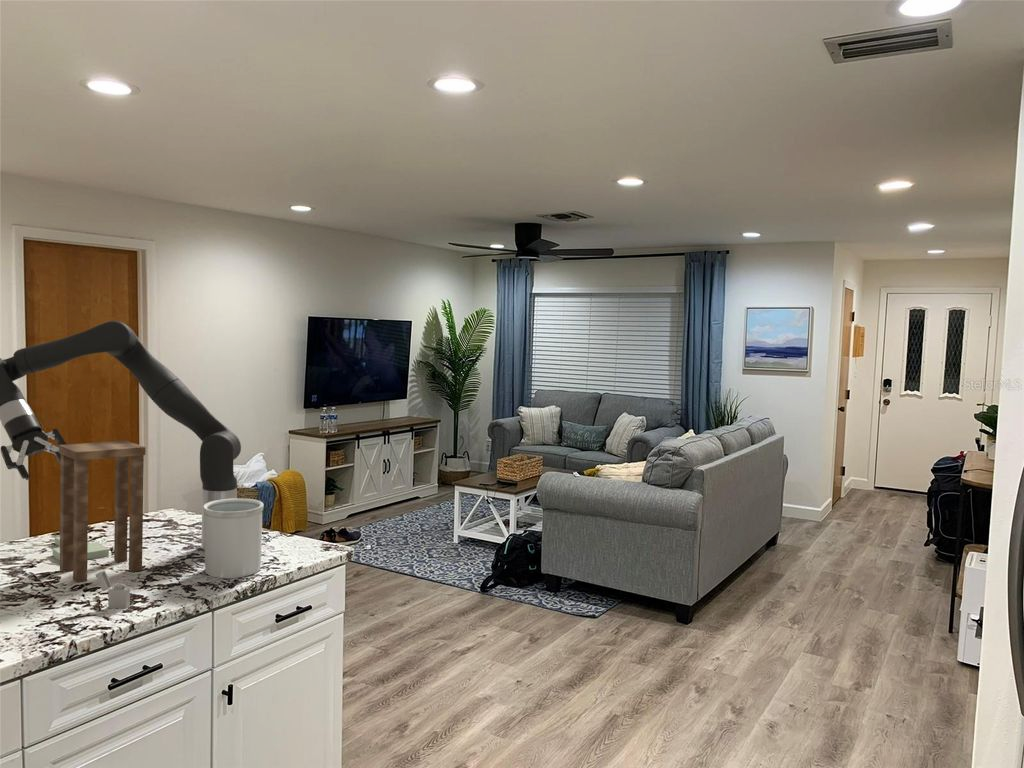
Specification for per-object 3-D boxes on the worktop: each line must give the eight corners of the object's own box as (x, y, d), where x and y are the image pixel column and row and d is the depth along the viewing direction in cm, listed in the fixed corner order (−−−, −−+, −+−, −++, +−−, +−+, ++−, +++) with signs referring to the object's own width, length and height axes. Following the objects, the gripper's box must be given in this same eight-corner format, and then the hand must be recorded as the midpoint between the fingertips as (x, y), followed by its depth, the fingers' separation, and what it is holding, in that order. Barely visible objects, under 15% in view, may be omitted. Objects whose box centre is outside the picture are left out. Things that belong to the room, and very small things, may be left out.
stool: (124, 558, 206) (125, 440, 203) (143, 570, 197) (145, 447, 195) (58, 569, 194) (58, 445, 192) (75, 583, 185) (76, 452, 183)
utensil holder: (226, 583, 190) (227, 514, 189) (189, 571, 198) (190, 504, 197) (274, 569, 202) (275, 504, 201) (238, 558, 210) (239, 495, 209)
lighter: (130, 606, 172) (130, 571, 172) (126, 609, 170) (126, 573, 170) (99, 604, 172) (99, 569, 172) (94, 607, 170) (95, 572, 170)
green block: (82, 539, 221) (82, 532, 221) (108, 556, 207) (108, 549, 207) (39, 546, 213) (39, 539, 212) (63, 564, 199) (63, 556, 199)
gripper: (-12, 424, 196) (16, 477, 193) (48, 405, 205) (75, 456, 203) (-12, 436, 201) (15, 488, 199) (47, 417, 211) (73, 467, 208)
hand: (46, 472), depth 201 cm, fingers open, 8 cm apart
